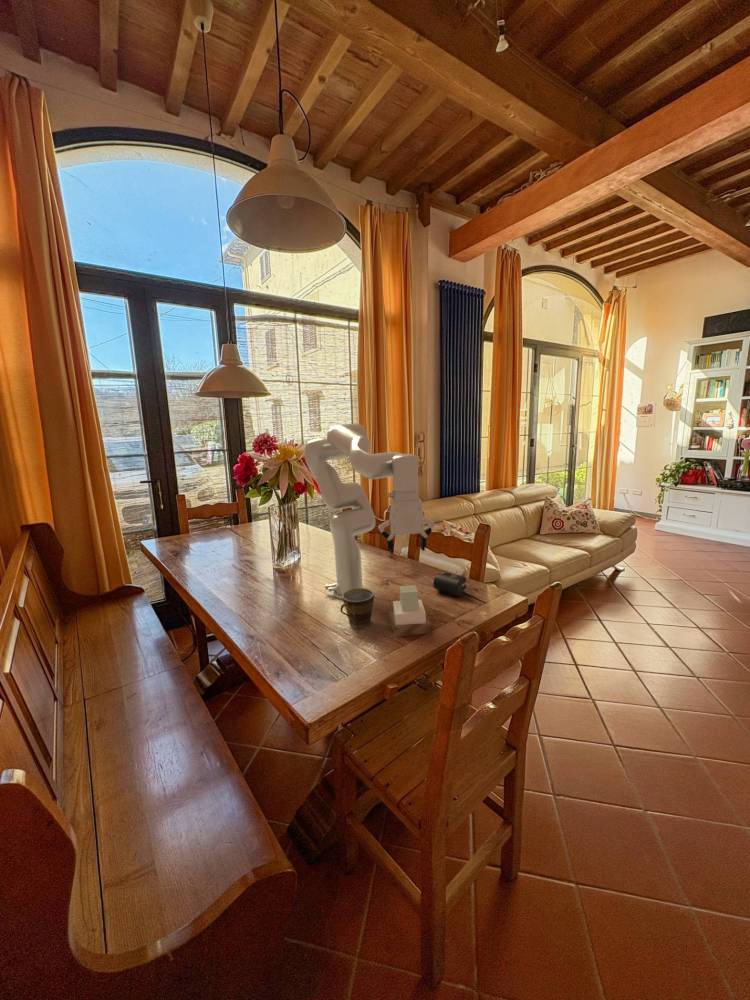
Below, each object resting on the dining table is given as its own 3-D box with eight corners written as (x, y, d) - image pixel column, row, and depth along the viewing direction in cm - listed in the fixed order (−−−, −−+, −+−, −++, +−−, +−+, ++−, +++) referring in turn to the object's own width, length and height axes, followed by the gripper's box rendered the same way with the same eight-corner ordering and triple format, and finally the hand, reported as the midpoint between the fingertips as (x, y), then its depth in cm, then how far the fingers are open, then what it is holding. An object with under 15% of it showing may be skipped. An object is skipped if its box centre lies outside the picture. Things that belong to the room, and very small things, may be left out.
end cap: (433, 593, 149) (432, 575, 148) (443, 586, 154) (443, 570, 153) (457, 600, 142) (456, 582, 141) (467, 593, 148) (467, 575, 146)
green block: (402, 611, 122) (401, 592, 121) (400, 604, 127) (399, 586, 126) (418, 610, 123) (418, 591, 122) (415, 602, 128) (415, 585, 126)
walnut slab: (395, 638, 121) (394, 627, 120) (389, 621, 131) (388, 611, 131) (431, 634, 122) (431, 623, 121) (422, 617, 133) (422, 607, 132)
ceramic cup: (358, 613, 136) (356, 585, 134) (381, 621, 130) (380, 592, 128) (331, 629, 126) (328, 600, 124) (354, 639, 120) (352, 608, 118)
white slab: (396, 625, 121) (395, 614, 121) (393, 611, 130) (393, 601, 130) (425, 623, 122) (425, 612, 121) (421, 609, 130) (420, 599, 130)
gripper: (378, 500, 116) (380, 556, 119) (437, 496, 118) (437, 552, 121) (375, 495, 123) (377, 548, 127) (430, 491, 125) (431, 544, 128)
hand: (407, 550), depth 124 cm, fingers open, 9 cm apart
